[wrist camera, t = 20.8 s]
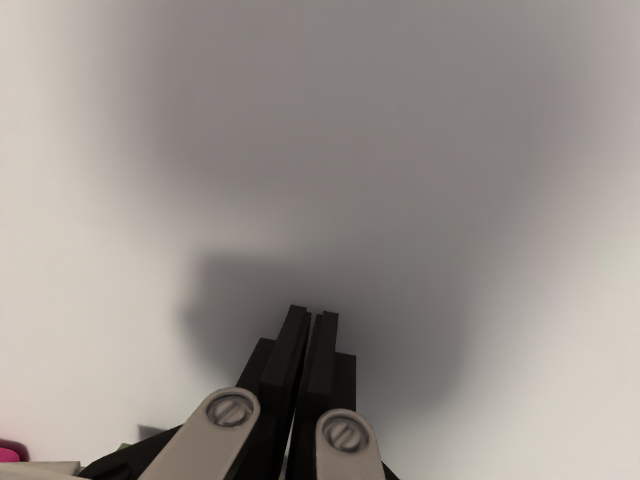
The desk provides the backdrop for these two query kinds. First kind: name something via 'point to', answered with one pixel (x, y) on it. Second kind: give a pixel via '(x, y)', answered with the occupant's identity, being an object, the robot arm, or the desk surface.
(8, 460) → the file sorter
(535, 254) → the desk surface
